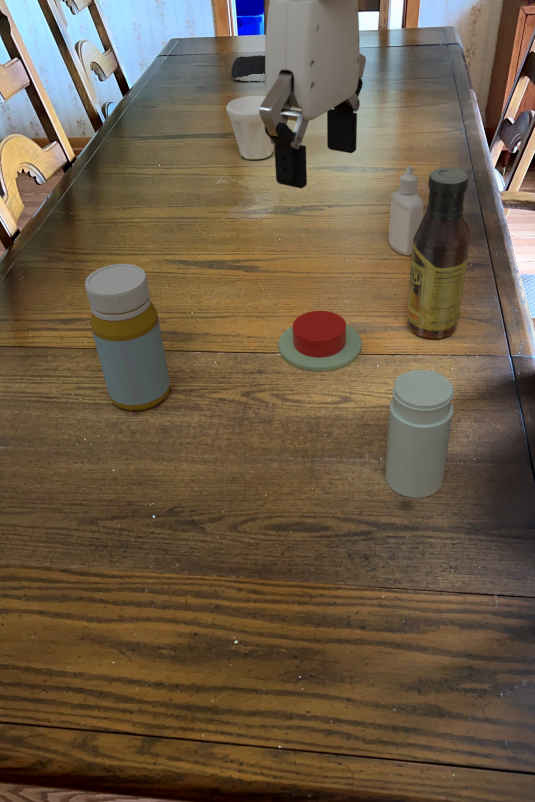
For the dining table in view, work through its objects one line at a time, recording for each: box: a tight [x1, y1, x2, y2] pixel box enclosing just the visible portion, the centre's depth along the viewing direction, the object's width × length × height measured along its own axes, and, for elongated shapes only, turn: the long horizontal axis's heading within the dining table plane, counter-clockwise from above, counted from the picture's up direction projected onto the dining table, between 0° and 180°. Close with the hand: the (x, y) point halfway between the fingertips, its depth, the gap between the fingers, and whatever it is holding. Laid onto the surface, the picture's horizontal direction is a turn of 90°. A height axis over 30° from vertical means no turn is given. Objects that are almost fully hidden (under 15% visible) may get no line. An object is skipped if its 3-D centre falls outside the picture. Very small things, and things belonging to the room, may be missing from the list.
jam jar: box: [384, 369, 455, 499], centre depth 66 cm, size 6×6×11 cm
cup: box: [225, 95, 275, 159], centre depth 132 cm, size 10×10×9 cm
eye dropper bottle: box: [388, 166, 424, 257], centre depth 100 cm, size 4×6×12 cm
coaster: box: [278, 324, 363, 372], centre depth 86 cm, size 10×10×1 cm
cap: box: [291, 310, 347, 358], centre depth 86 cm, size 6×6×2 cm
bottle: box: [84, 263, 171, 412], centre depth 77 cm, size 7×7×15 cm
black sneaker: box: [231, 54, 265, 78], centre depth 173 cm, size 15×22×5 cm
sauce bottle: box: [406, 166, 471, 340], centre depth 82 cm, size 6×6×20 cm
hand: (317, 166), depth 72 cm, fingers open, 9 cm apart
